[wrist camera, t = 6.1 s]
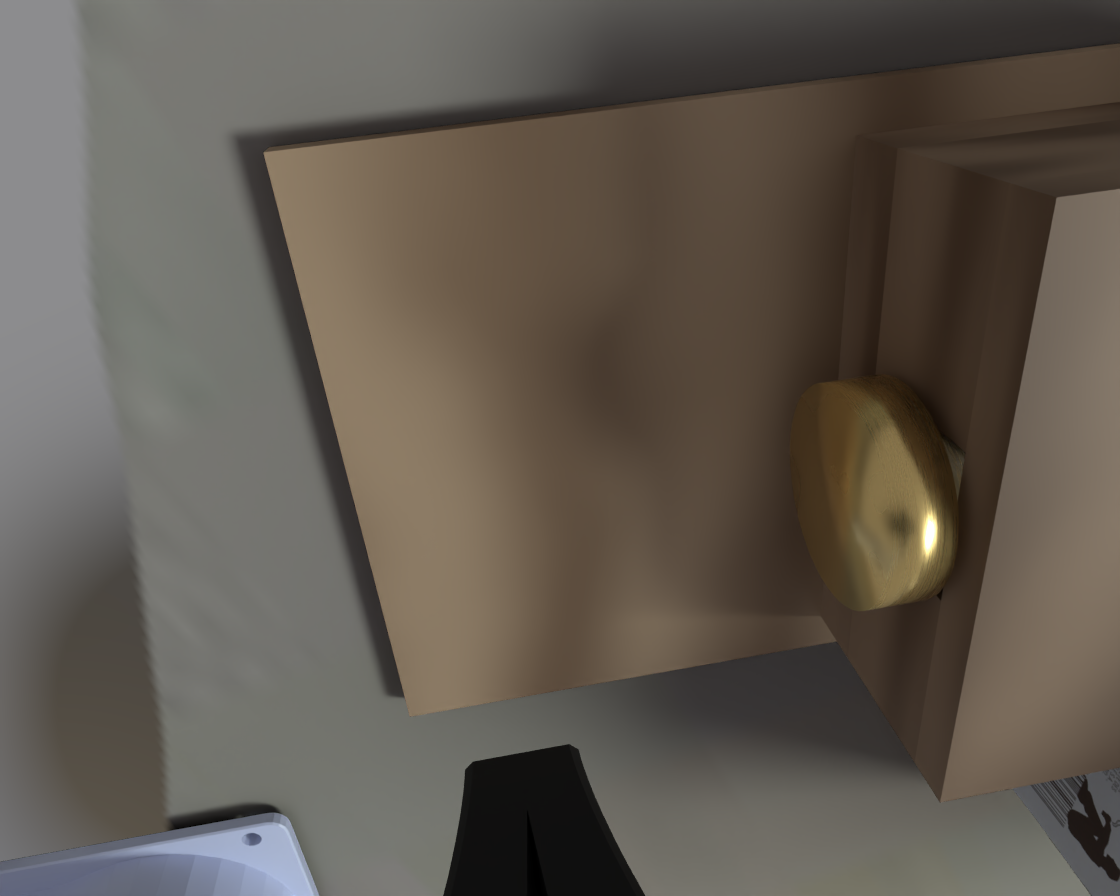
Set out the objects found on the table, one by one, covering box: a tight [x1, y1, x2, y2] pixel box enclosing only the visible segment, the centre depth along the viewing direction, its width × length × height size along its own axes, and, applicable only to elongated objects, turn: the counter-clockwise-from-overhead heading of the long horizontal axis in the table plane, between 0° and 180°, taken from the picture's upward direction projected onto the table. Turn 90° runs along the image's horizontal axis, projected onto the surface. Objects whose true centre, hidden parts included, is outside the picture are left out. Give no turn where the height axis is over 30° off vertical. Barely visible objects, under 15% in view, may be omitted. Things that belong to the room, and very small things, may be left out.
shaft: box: [790, 374, 966, 611], centre depth 16 cm, size 11×4×4 cm, turn 95°
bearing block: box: [263, 43, 1120, 802], centre depth 16 cm, size 22×14×6 cm, turn 95°
